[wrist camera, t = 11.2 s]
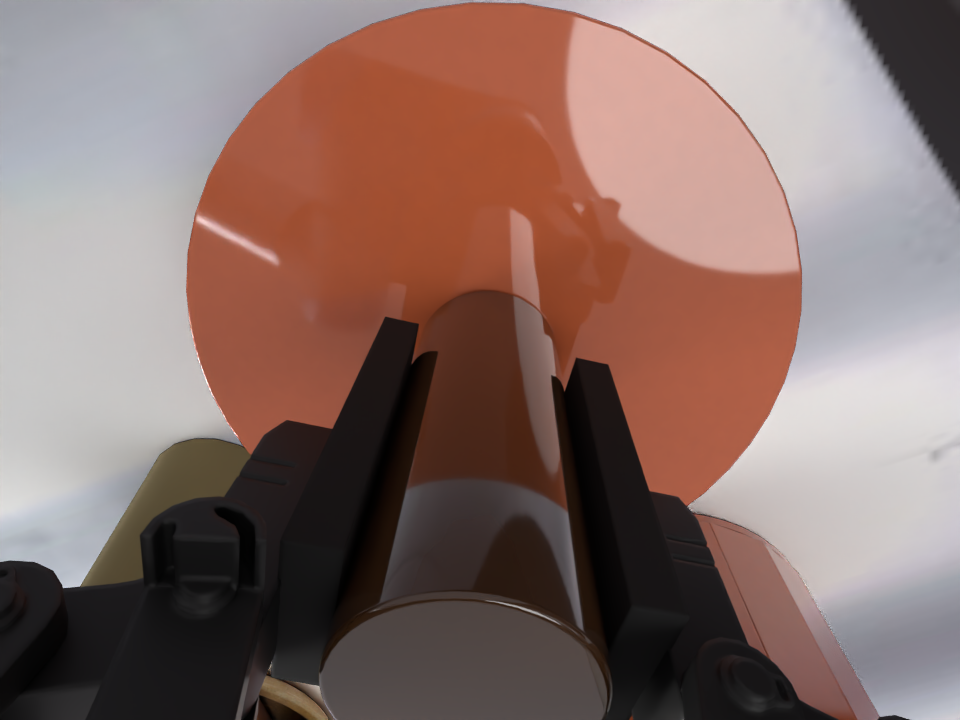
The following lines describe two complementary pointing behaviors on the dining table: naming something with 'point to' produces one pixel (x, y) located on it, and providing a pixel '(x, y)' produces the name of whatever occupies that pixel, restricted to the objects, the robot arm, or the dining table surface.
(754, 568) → the pot
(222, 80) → the dining table surface
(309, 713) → the toy sandwich meal
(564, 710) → the lid
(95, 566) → the olive pawn figure
